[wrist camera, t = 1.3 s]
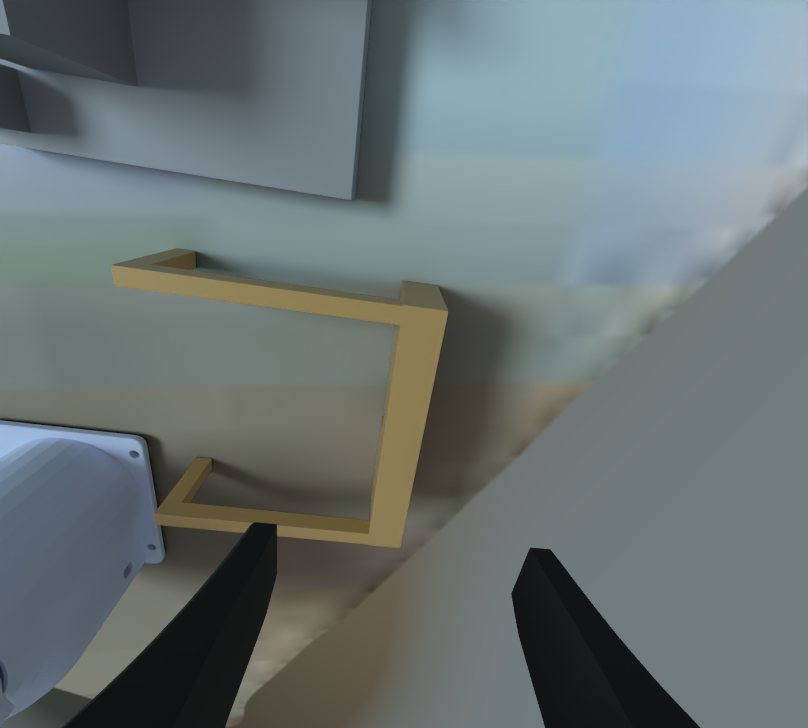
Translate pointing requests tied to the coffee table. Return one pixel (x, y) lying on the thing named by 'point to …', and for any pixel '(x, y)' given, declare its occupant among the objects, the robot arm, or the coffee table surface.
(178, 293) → the tan bracket frame
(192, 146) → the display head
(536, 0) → the coffee table surface
